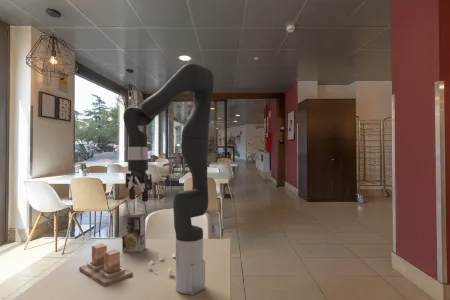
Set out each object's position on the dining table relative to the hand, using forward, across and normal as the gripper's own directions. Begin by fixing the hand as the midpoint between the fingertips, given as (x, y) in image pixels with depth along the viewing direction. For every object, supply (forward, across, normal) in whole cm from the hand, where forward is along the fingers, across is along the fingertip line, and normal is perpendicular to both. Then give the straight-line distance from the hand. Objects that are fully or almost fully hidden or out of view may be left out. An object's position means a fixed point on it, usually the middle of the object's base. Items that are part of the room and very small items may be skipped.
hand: (138, 200), depth 112 cm
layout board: (+27, +8, +9) cm, 30 cm away
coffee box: (+27, +22, -12) cm, 37 cm away
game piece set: (+28, -6, -11) cm, 31 cm away
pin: (+26, +3, +10) cm, 28 cm away
